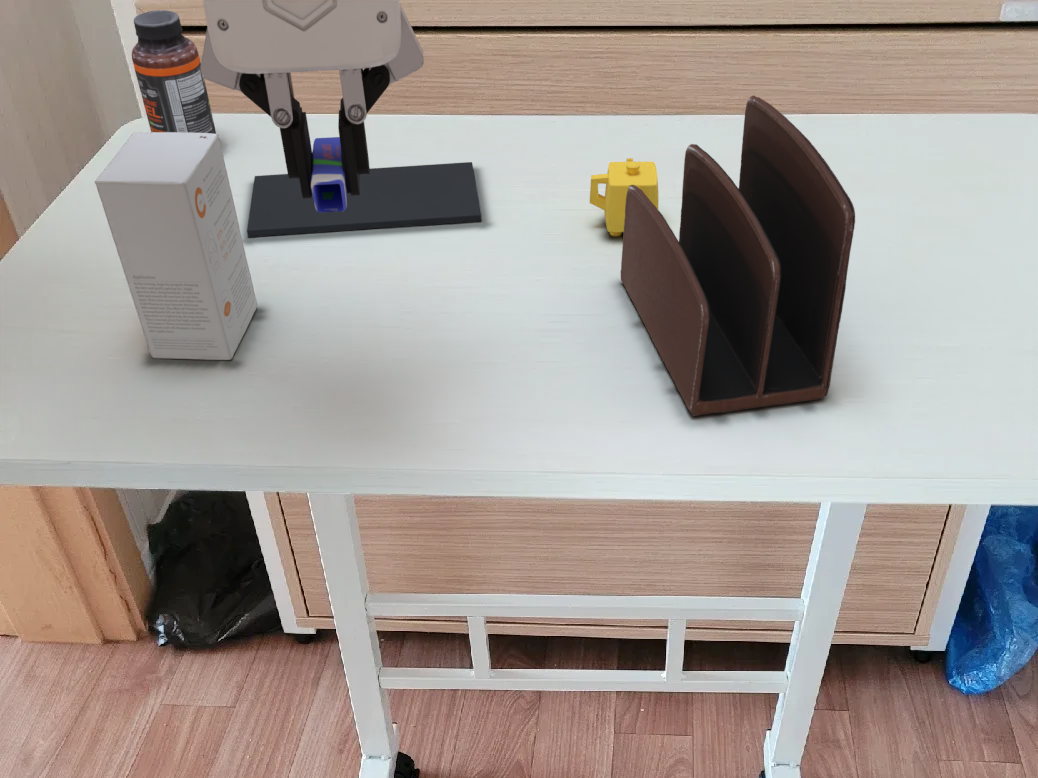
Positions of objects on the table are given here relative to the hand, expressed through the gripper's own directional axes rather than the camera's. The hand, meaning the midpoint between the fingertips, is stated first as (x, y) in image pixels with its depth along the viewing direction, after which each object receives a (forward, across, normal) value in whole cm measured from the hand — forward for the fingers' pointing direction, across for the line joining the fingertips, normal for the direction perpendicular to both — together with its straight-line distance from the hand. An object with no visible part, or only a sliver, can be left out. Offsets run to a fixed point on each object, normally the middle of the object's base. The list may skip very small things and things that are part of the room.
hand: (331, 185), depth 67 cm
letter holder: (+15, +26, +5) cm, 31 cm away
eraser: (+1, 0, 0) cm, 1 cm away
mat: (+15, 0, +32) cm, 35 cm away
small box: (+15, -12, +11) cm, 22 cm away
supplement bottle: (+15, -17, +46) cm, 51 cm away
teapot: (+15, +22, +24) cm, 36 cm away
